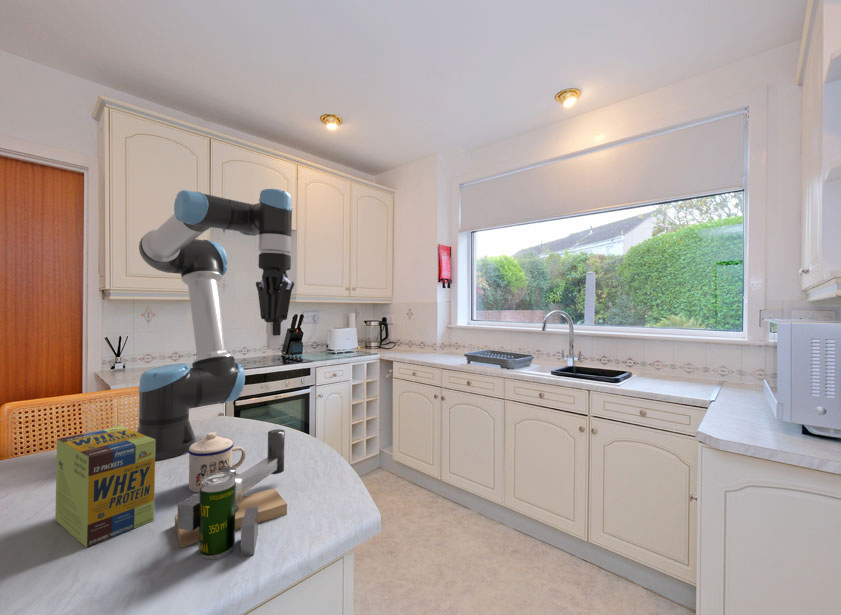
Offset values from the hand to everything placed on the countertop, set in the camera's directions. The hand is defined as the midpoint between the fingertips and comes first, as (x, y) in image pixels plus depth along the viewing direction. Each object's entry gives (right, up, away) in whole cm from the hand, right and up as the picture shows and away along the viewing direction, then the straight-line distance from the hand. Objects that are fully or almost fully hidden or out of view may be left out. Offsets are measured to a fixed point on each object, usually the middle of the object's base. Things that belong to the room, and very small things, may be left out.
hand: (273, 348), depth 97 cm
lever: (+1, -27, -19) cm, 33 cm away
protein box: (-23, -30, -23) cm, 45 cm away
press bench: (0, -30, -23) cm, 38 cm away
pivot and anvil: (+4, -30, -27) cm, 41 cm away
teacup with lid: (-10, -30, -7) cm, 33 cm away
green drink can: (+3, -31, -32) cm, 44 cm away
